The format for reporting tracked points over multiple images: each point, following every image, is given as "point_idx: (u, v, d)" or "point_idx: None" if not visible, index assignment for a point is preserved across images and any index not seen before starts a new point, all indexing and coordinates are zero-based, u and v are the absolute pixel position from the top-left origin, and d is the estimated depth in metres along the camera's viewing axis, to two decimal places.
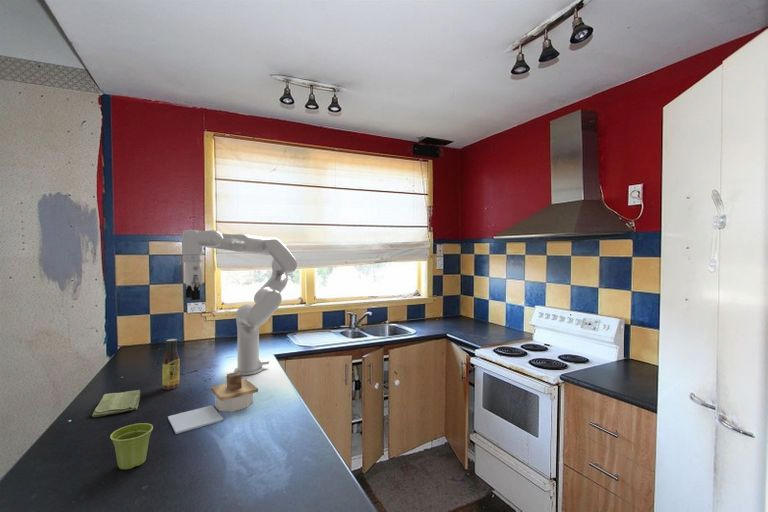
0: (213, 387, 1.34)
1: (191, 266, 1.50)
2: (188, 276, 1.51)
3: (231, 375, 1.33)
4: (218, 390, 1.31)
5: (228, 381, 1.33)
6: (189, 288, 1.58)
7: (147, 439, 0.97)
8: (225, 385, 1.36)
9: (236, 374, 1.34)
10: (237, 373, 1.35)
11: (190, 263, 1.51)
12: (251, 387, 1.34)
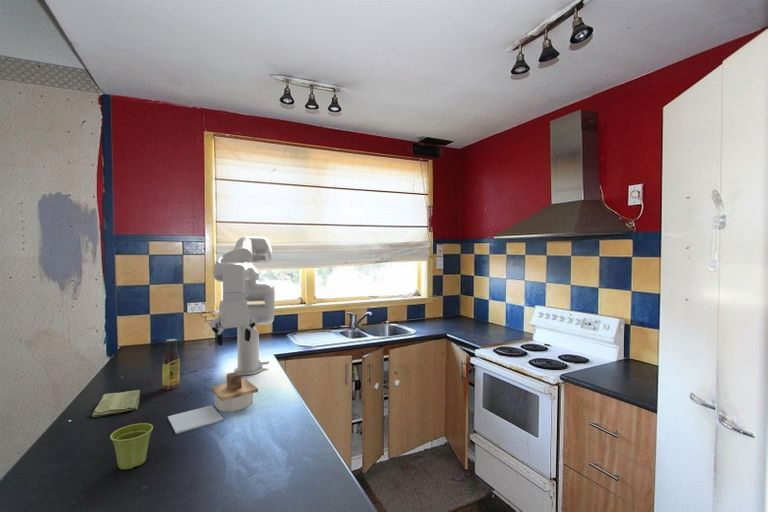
0: (213, 387, 1.34)
1: None
2: (244, 316, 1.34)
3: (231, 375, 1.33)
4: (218, 390, 1.31)
5: (228, 381, 1.33)
6: None
7: (147, 439, 0.97)
8: (225, 385, 1.36)
9: (236, 374, 1.34)
10: (237, 373, 1.35)
11: (246, 301, 1.35)
12: (251, 387, 1.34)
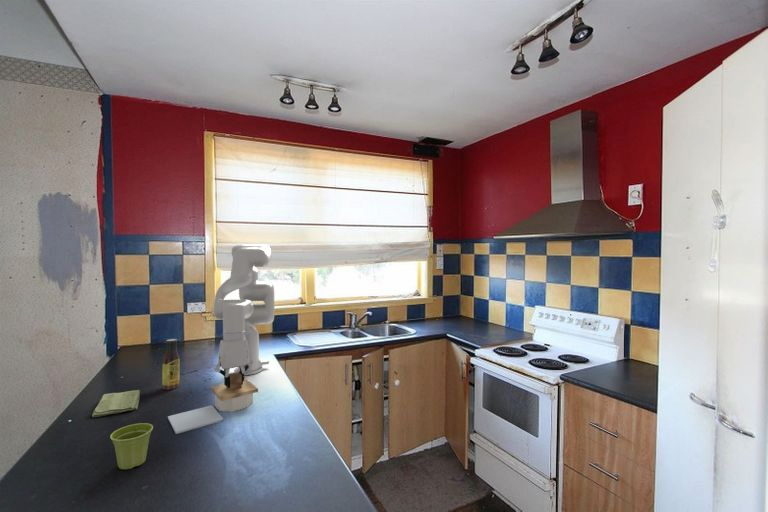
0: (213, 387, 1.34)
1: (247, 343, 1.36)
2: (244, 355, 1.34)
3: (231, 375, 1.33)
4: (218, 390, 1.31)
5: None
6: None
7: (147, 439, 0.97)
8: (225, 385, 1.36)
9: (236, 374, 1.34)
10: (237, 373, 1.35)
11: (246, 340, 1.35)
12: (251, 387, 1.34)
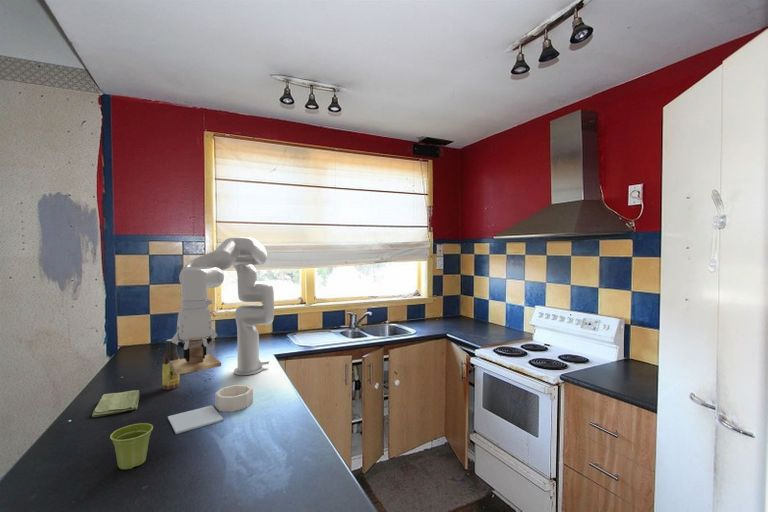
0: (172, 361, 1.22)
1: None
2: (206, 326, 1.22)
3: (191, 348, 1.20)
4: (176, 364, 1.19)
5: None
6: None
7: (147, 439, 0.97)
8: None
9: (197, 347, 1.21)
10: (198, 346, 1.23)
11: None
12: (214, 361, 1.22)
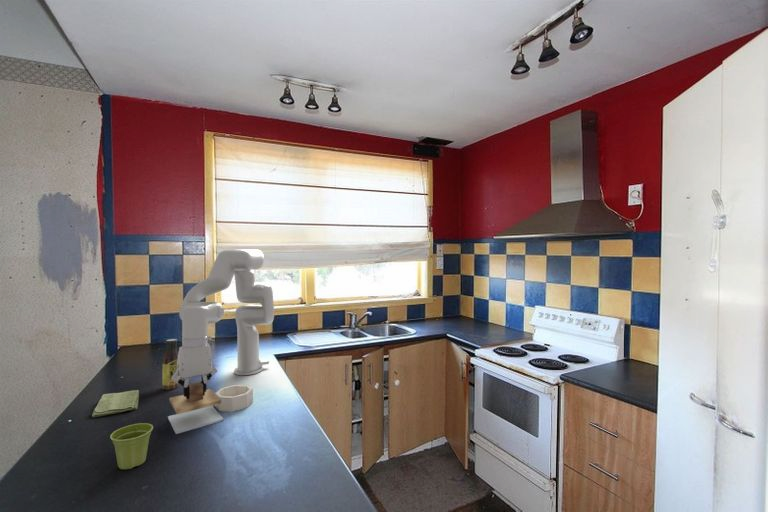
0: (172, 398, 1.22)
1: None
2: (206, 363, 1.22)
3: (191, 385, 1.20)
4: (176, 402, 1.19)
5: None
6: None
7: (147, 439, 0.97)
8: None
9: (197, 384, 1.22)
10: (198, 383, 1.23)
11: (209, 346, 1.23)
12: (214, 398, 1.22)
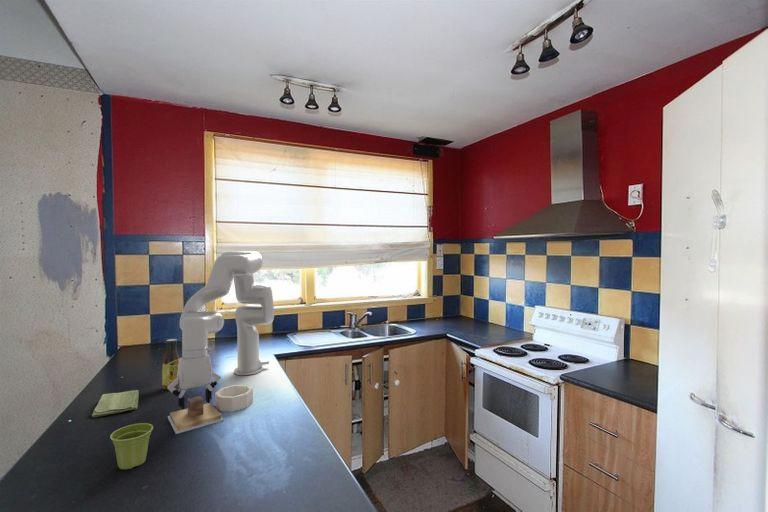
0: (172, 413, 1.22)
1: (210, 360, 1.24)
2: (207, 374, 1.22)
3: (192, 400, 1.21)
4: (177, 417, 1.19)
5: (189, 407, 1.21)
6: None
7: (147, 439, 0.97)
8: (186, 411, 1.24)
9: (197, 399, 1.22)
10: (199, 398, 1.23)
11: (209, 357, 1.23)
12: (214, 413, 1.22)
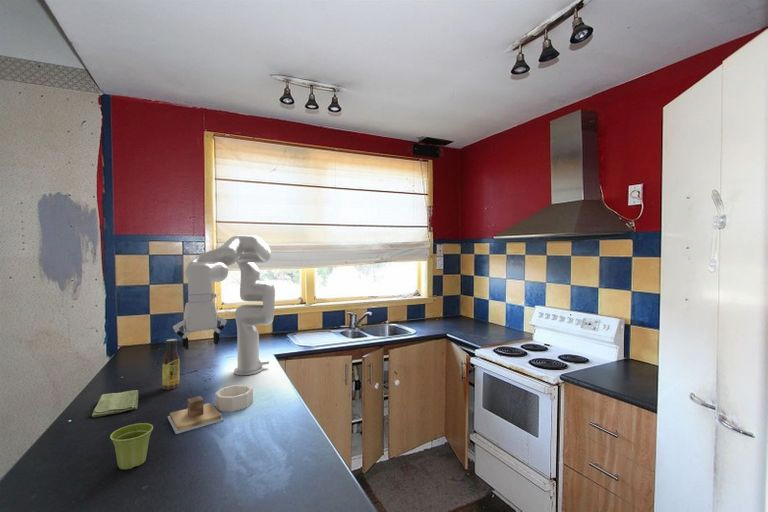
0: (172, 413, 1.22)
1: None
2: (212, 318, 1.28)
3: (192, 400, 1.21)
4: (177, 417, 1.19)
5: (189, 407, 1.21)
6: (186, 337, 1.25)
7: (147, 439, 0.97)
8: (186, 411, 1.24)
9: (197, 399, 1.22)
10: (199, 398, 1.23)
11: None
12: (214, 413, 1.22)
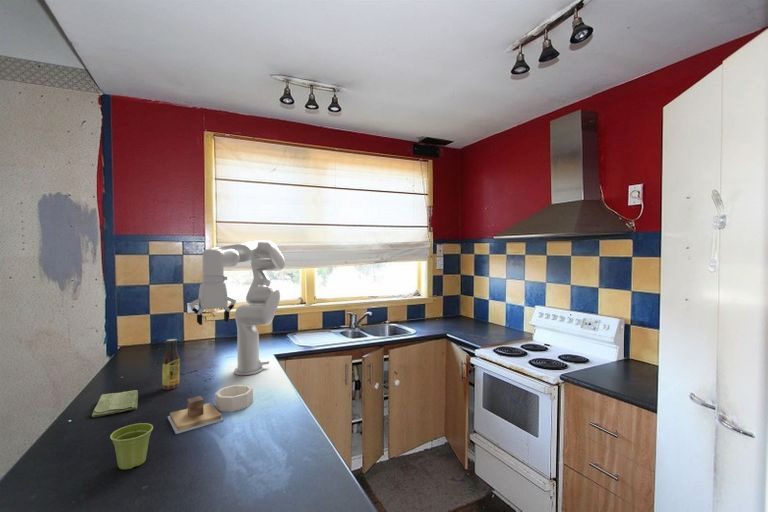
0: (172, 413, 1.22)
1: None
2: (223, 298, 1.44)
3: (192, 400, 1.21)
4: (177, 417, 1.19)
5: (189, 407, 1.21)
6: None
7: (147, 439, 0.97)
8: (186, 411, 1.24)
9: (197, 399, 1.22)
10: (199, 398, 1.23)
11: (225, 284, 1.45)
12: (214, 413, 1.22)
